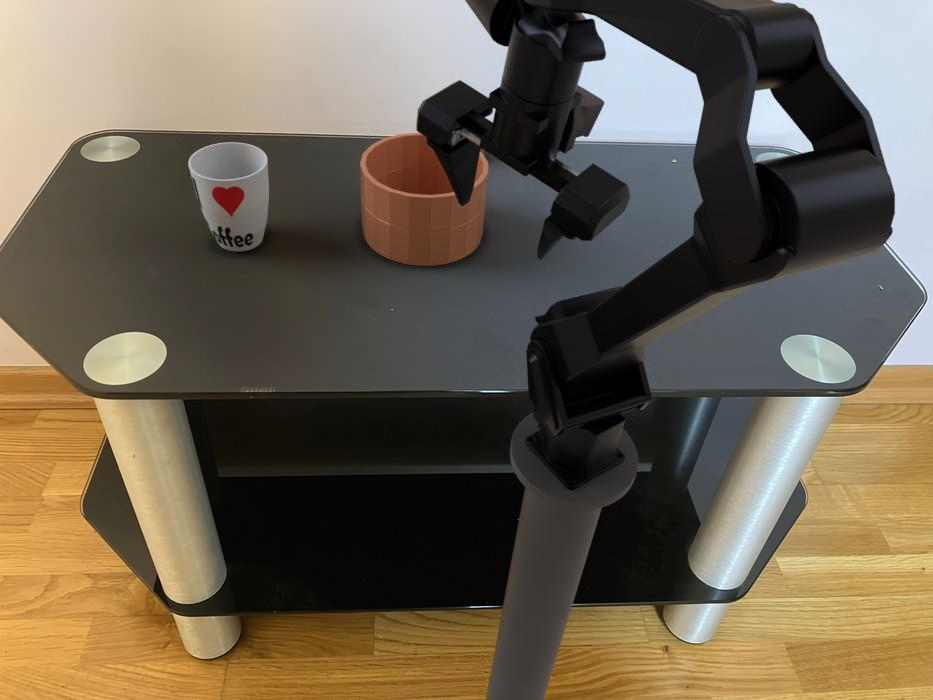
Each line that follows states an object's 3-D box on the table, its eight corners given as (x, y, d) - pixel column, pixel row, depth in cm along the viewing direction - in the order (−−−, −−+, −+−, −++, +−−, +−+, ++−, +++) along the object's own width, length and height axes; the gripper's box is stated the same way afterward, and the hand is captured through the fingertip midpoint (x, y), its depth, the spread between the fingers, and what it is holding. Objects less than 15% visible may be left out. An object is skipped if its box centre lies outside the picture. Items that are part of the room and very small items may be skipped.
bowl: (505, 243, 92) (513, 176, 86) (402, 280, 86) (403, 210, 80) (440, 187, 101) (443, 122, 95) (341, 217, 94) (338, 149, 88)
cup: (189, 247, 88) (172, 168, 81) (231, 212, 94) (218, 135, 87) (251, 267, 86) (238, 188, 79) (290, 229, 92) (281, 153, 85)
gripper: (693, 100, 61) (631, 241, 73) (507, -6, 66) (479, 142, 79) (618, 162, 55) (564, 304, 67) (421, 40, 61) (404, 192, 73)
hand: (502, 229), depth 72 cm, fingers open, 9 cm apart
